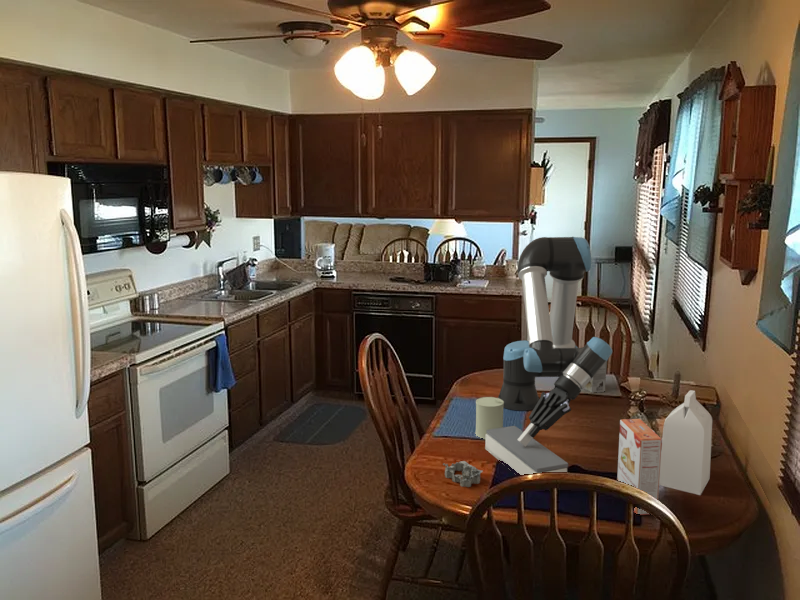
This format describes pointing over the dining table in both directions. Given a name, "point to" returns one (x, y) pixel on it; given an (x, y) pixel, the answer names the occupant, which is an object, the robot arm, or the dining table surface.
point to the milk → (686, 447)
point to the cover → (527, 449)
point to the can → (488, 415)
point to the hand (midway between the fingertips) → (521, 443)
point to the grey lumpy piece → (463, 473)
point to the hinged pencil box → (511, 457)
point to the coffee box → (598, 380)
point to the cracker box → (639, 457)
